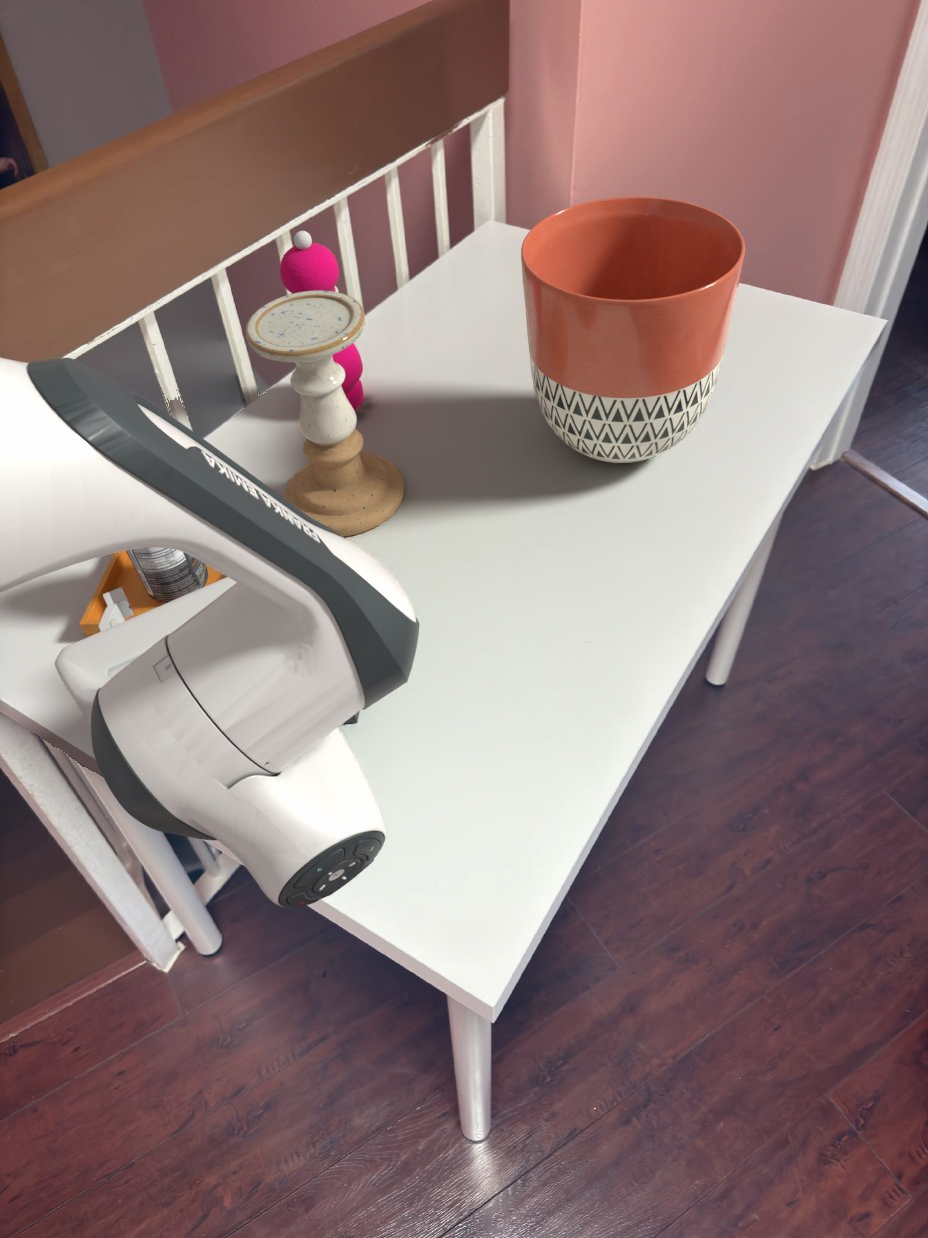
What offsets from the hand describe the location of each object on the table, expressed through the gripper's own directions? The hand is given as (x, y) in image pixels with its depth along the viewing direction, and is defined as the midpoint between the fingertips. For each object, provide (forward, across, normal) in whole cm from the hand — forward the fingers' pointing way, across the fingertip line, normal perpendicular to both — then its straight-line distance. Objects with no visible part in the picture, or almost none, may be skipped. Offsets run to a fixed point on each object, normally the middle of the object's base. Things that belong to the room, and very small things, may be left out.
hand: (174, 571), depth 70 cm
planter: (+6, -47, +13) cm, 49 cm away
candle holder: (+15, -19, +13) cm, 27 cm away
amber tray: (+12, 0, +13) cm, 18 cm away
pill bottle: (+12, 0, +12) cm, 17 cm away
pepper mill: (+31, -26, +13) cm, 42 cm away
